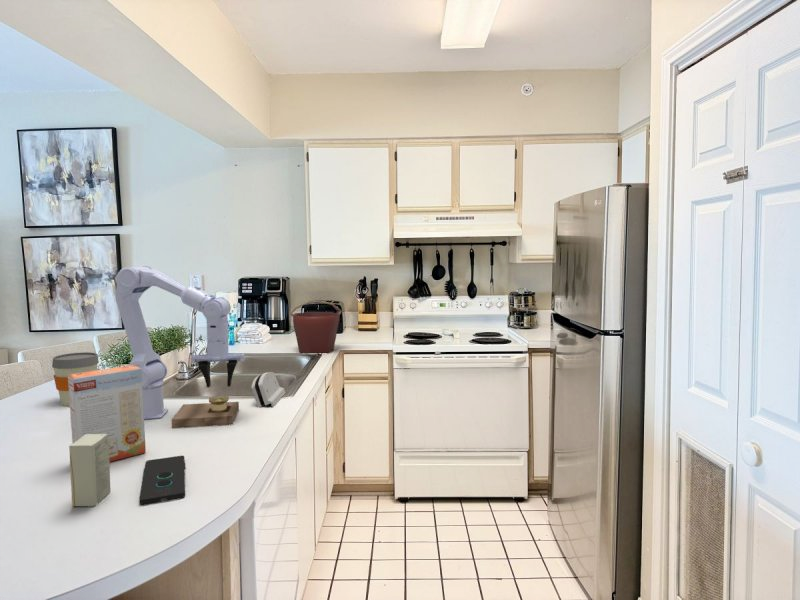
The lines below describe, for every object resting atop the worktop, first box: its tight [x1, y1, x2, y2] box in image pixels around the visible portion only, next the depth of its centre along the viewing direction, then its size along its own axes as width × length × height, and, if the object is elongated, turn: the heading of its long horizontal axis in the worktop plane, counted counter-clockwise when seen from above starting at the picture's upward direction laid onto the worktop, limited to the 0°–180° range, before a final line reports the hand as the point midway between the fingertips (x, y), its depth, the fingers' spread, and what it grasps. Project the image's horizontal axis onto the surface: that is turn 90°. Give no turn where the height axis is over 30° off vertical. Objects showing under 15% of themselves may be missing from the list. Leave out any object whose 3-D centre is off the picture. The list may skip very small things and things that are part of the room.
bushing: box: [208, 394, 230, 413], centre depth 146 cm, size 5×5×6 cm
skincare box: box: [68, 434, 112, 507], centre depth 96 cm, size 6×4×12 cm
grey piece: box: [251, 371, 287, 408], centre depth 164 cm, size 17×5×10 cm, turn 0°
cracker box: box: [68, 365, 147, 463], centre depth 116 cm, size 14×6×21 cm, turn 134°
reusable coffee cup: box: [51, 351, 99, 407], centre depth 161 cm, size 13×12×15 cm
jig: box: [171, 401, 240, 429], centre depth 145 cm, size 16×14×2 cm
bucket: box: [290, 300, 343, 354], centre depth 246 cm, size 24×22×25 cm
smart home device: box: [139, 455, 186, 506], centre depth 105 cm, size 8×2×20 cm
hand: (219, 386), depth 145 cm, fingers open, 5 cm apart
